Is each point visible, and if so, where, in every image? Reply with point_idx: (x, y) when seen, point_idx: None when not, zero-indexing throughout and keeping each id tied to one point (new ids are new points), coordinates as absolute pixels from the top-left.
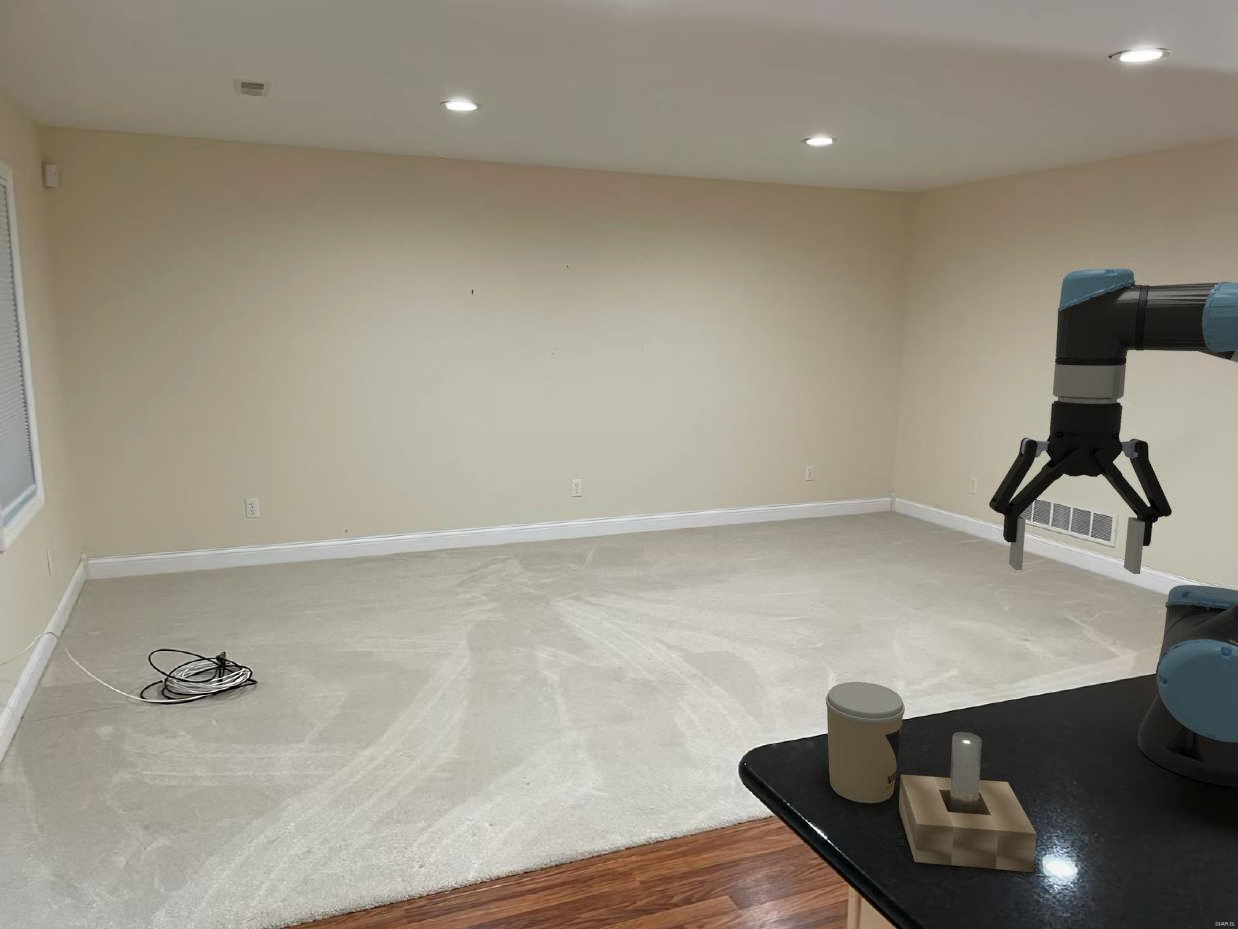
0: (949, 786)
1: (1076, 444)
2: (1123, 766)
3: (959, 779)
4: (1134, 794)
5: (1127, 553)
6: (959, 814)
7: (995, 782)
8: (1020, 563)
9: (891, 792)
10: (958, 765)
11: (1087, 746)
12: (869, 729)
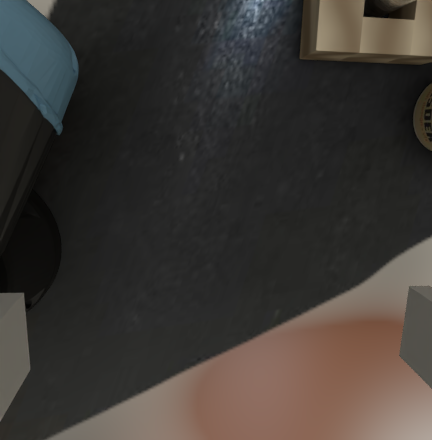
0: (397, 30)
1: None
2: (100, 208)
3: None
4: (114, 135)
5: (4, 390)
6: None
7: (333, 47)
8: (430, 297)
9: (425, 91)
10: None
11: (129, 256)
12: None
